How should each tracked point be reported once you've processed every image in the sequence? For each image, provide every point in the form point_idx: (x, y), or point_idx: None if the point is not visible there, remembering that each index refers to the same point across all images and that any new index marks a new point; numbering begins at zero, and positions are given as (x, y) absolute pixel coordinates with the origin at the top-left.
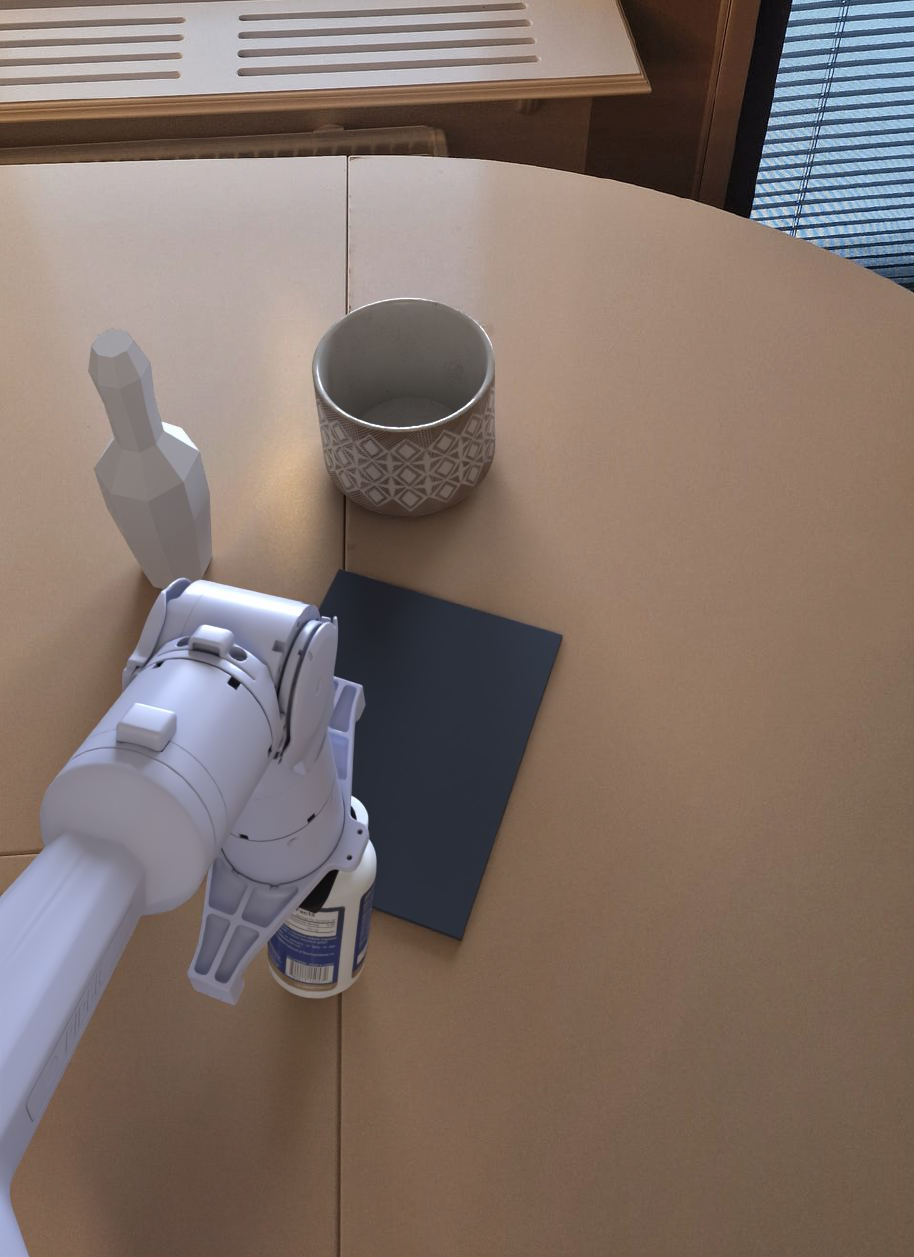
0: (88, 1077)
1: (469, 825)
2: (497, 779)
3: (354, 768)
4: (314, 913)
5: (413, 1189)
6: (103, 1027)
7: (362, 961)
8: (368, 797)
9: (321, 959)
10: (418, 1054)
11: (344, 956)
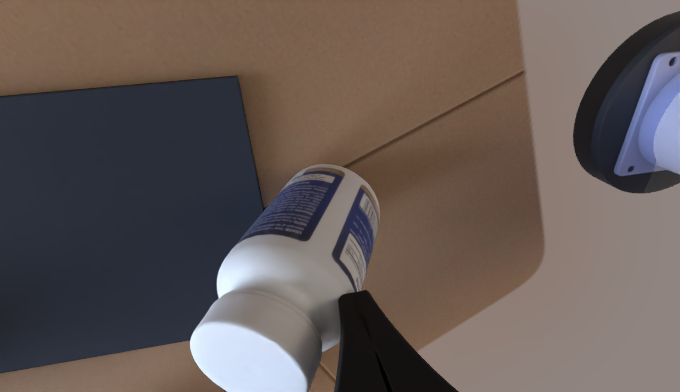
0: (457, 289)
1: (106, 126)
2: (21, 119)
3: (141, 263)
4: (369, 293)
5: (476, 19)
6: (427, 299)
7: (324, 171)
8: (158, 238)
9: (365, 222)
10: (364, 70)
11: (347, 200)
